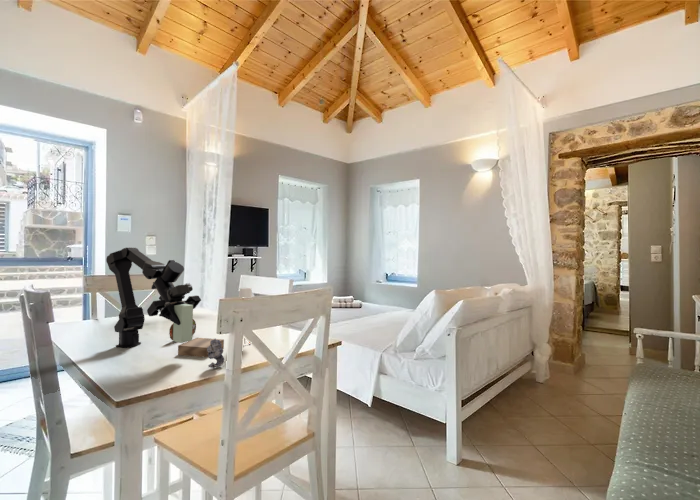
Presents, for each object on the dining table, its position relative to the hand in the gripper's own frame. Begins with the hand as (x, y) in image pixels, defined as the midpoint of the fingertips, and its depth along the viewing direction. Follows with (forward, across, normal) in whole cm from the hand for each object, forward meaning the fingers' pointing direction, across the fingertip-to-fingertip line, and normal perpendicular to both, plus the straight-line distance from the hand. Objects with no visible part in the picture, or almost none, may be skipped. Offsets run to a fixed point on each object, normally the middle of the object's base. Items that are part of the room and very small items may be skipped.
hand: (185, 323), depth 125 cm
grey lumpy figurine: (+21, 0, -1) cm, 21 cm away
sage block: (+4, 0, +6) cm, 7 cm away
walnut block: (+8, +10, +12) cm, 18 cm away
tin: (-9, +19, +28) cm, 35 cm away
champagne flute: (+12, +27, +8) cm, 30 cm away
